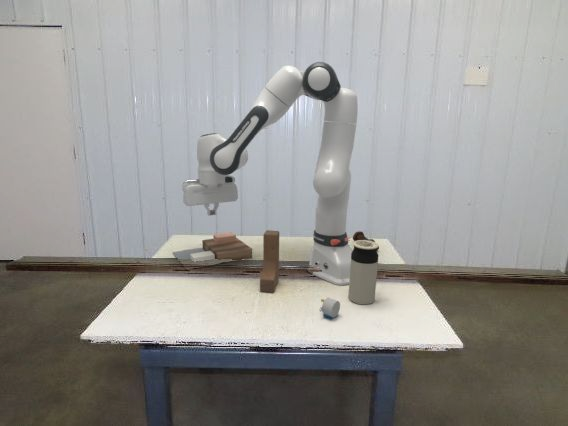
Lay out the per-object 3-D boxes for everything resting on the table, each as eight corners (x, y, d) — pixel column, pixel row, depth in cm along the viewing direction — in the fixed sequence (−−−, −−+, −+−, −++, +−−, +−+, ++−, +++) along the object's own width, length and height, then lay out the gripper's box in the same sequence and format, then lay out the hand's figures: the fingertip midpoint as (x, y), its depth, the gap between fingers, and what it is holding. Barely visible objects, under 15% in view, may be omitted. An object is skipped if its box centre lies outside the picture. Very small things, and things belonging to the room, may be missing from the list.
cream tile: (214, 260, 140) (214, 254, 140) (194, 264, 137) (193, 258, 136) (210, 256, 145) (210, 250, 144) (190, 260, 141) (190, 253, 140)
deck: (252, 258, 146) (252, 248, 145) (218, 264, 139) (218, 254, 138) (233, 244, 162) (233, 235, 161) (202, 249, 155) (202, 240, 154)
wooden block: (273, 293, 116) (274, 239, 112) (259, 291, 117) (259, 238, 113) (278, 281, 125) (279, 230, 121) (265, 280, 126) (266, 229, 121)
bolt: (373, 256, 156) (355, 244, 169) (383, 250, 156) (364, 238, 170) (369, 246, 153) (351, 234, 167) (378, 239, 154) (360, 228, 168)
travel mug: (355, 306, 109) (359, 249, 105) (344, 294, 116) (347, 240, 112) (379, 303, 111) (384, 247, 107) (366, 292, 118) (371, 238, 114)
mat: (218, 264, 138) (218, 263, 138) (186, 270, 132) (186, 269, 132) (201, 248, 155) (201, 247, 155) (172, 253, 149) (172, 252, 149)
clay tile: (236, 241, 153) (235, 235, 153) (217, 243, 149) (217, 238, 149) (231, 237, 158) (231, 232, 157) (213, 240, 154) (213, 234, 153)
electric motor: (327, 307, 108) (328, 292, 107) (341, 313, 105) (342, 297, 104) (314, 316, 103) (314, 300, 101) (328, 322, 100) (329, 306, 99)
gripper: (184, 181, 127) (186, 220, 131) (239, 177, 137) (239, 213, 141) (179, 179, 133) (181, 216, 136) (232, 175, 143) (233, 210, 146)
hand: (211, 214), depth 138 cm, fingers closed
